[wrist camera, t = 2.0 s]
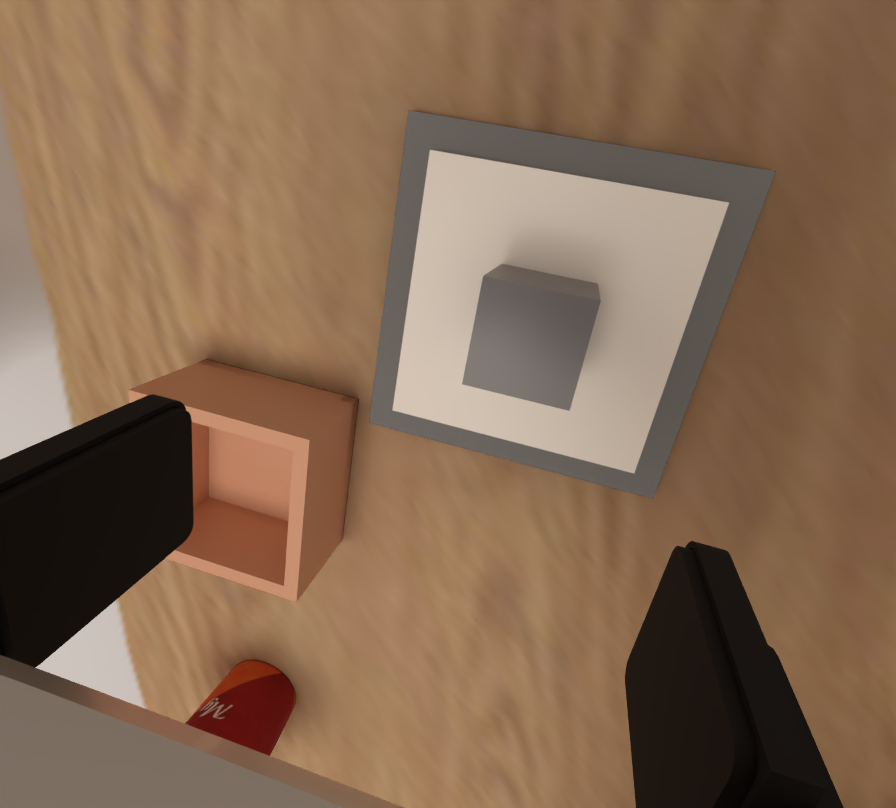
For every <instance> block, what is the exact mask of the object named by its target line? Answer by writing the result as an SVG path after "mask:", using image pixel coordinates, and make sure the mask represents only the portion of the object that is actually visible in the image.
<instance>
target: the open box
mask: <svg viewBox="0 0 896 808" xmlns="http://www.w3.org/2000/svg"><path fill="white" fill-rule="evenodd" d="M151 394H154V395H159V396H162V397H166V398H170V399H173V400H177V401H180V402H182V403H183V404H184V406H185V408H186V411H188V412H189V413H190V415H191V419H192V464H193V514H194V524H193V529H192V532H191V534H190V536H189V537H188V538H187V540H186V541H185V542H184V543H183V544H181V545H180V546H179V547H178V548H177V549H175V550H174V551H173V552H172V553H171V554H170V555H168V556H167V557H166V559H169V560H172V561H175V562H178V563H181V564H184V565H187V566H190V567H193V568H196V569H199V570H202V571H205V572H208V573H211V574H214V575H217V576H220V577H223V578H226V579H229V580H232V581H235V582H238V583H241V584H244V585H247V586H250V587H253V588H256V589H259V590H262V591H265V592H268V593H271V594H274V595H277V596H280V597H283V598H286V599H289V600H292V601H295V602H297V601H298V599H299V598H300V597H301V595H302V594H303V592H304V591H305V590H306V588H307V587H308V586H309V584H310V583H311V582H312V580H313V579H314V577H315V576H316V575H317V573H318V572H319V571H320V569H321V568H322V567H323V565H324V564H325V563H326V561H327V560H328V558H329V557H330V556H331V554H332V553H333V552H334V550H335V549H336V548H337V546H338V545H339V544H340V542H341V541H342V538H343V529H344V521H345V512H346V503H347V495H348V486H349V478H350V469H351V461H352V452H353V443H354V435H355V426H356V418H357V409H358V401H359V399H356V398H352V397H348V396H345V395H341V394H337V393H333V392H329V391H325V390H321V389H318V388H314V387H310V386H306V385H302V384H298V383H295V382H291V381H287V380H283V379H279V378H275V377H272V376H268V375H264V374H260V373H256V372H252V371H249V370H245V369H241V368H237V367H233V366H229V365H226V364H222V363H218V362H214V361H210V360H203V361H200V362H198V363H195V364H193V365H190V366H188V367H185V368H183V369H180V370H178V371H175V372H173V373H170V374H167V375H165V376H162V377H160V378H157V379H155V380H152V381H150V382H147V383H145V384H142V385H140V386H137V387H135V388H132V389H129V403H131V402H133V401H136V400H138V399H140V398H143V397H145V396H147V395H151Z"/></svg>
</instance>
